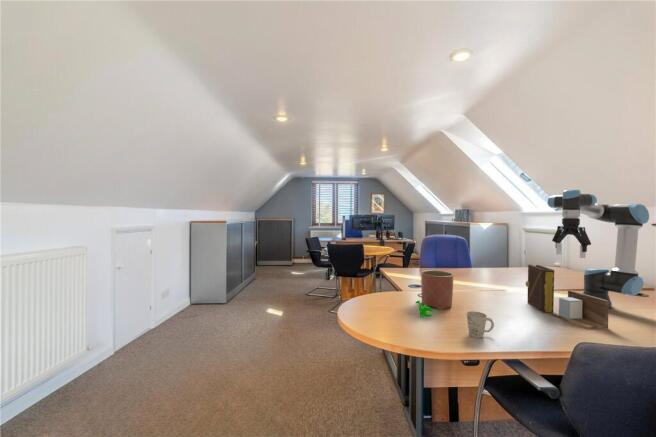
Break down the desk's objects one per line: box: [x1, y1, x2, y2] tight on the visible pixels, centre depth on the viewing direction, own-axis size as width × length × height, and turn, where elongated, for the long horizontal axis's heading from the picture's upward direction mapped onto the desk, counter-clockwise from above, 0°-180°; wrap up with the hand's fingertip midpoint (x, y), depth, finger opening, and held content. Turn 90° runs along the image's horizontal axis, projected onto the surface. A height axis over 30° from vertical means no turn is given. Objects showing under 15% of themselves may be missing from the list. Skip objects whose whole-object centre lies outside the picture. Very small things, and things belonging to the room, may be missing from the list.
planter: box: [420, 269, 455, 310], centre depth 183 cm, size 19×19×20 cm
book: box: [525, 264, 555, 314], centre depth 180 cm, size 22×8×25 cm, turn 168°
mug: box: [466, 310, 495, 339], centre depth 137 cm, size 8×13×10 cm, turn 95°
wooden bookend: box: [551, 289, 610, 330], centre depth 156 cm, size 12×20×14 cm, turn 7°
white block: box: [558, 296, 583, 319], centre depth 159 cm, size 8×6×10 cm
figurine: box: [415, 299, 436, 318], centre depth 162 cm, size 6×12×9 cm, turn 98°
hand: (570, 256), depth 161 cm, fingers open, 13 cm apart
